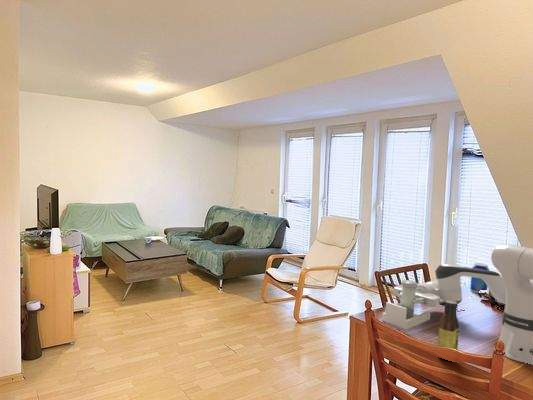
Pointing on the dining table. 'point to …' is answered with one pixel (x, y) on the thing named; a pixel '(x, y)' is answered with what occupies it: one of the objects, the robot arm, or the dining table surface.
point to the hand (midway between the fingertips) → (406, 299)
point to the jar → (408, 293)
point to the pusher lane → (402, 316)
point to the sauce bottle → (449, 326)
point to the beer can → (478, 279)
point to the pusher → (408, 312)
